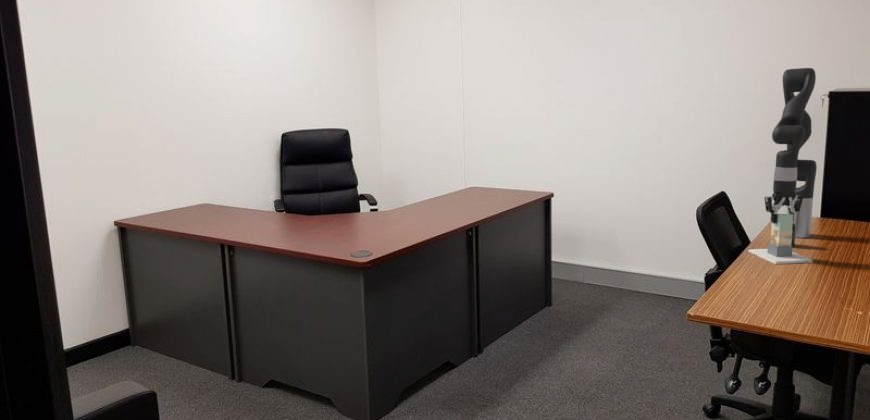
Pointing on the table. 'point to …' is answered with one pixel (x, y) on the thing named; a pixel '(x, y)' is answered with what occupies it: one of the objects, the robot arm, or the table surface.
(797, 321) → the table surface
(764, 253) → the build plate
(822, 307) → the table surface
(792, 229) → the supplement bottle
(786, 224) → the sage block
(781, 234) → the birch block
